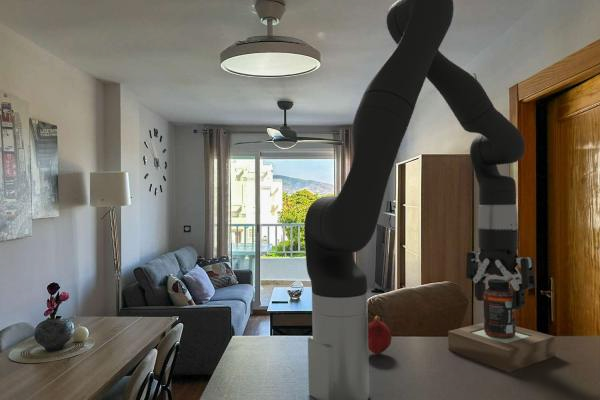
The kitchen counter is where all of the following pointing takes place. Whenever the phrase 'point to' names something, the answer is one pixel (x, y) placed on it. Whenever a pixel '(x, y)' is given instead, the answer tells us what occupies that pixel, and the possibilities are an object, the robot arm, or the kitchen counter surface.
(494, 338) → the plate
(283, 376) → the kitchen counter surface
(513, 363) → the wooden tray
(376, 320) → the pomegranate
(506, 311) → the supplement bottle
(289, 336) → the kitchen counter surface
